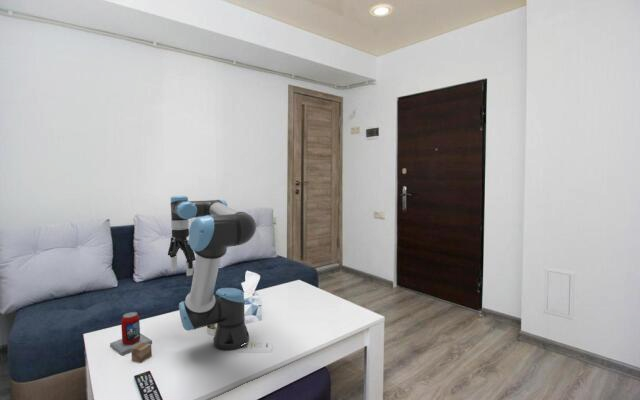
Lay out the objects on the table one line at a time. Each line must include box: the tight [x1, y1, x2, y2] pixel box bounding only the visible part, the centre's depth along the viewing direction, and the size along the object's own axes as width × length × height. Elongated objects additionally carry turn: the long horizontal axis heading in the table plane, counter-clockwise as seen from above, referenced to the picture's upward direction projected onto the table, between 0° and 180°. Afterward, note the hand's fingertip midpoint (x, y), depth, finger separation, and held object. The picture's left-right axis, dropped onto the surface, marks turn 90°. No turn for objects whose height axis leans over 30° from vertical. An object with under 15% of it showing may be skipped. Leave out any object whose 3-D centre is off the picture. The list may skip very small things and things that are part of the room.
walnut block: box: [130, 342, 153, 363], centre depth 133 cm, size 5×5×5 cm
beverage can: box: [120, 311, 141, 344], centre depth 143 cm, size 7×7×12 cm
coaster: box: [109, 332, 153, 356], centre depth 143 cm, size 12×12×2 cm
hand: (181, 272), depth 158 cm, fingers open, 13 cm apart
